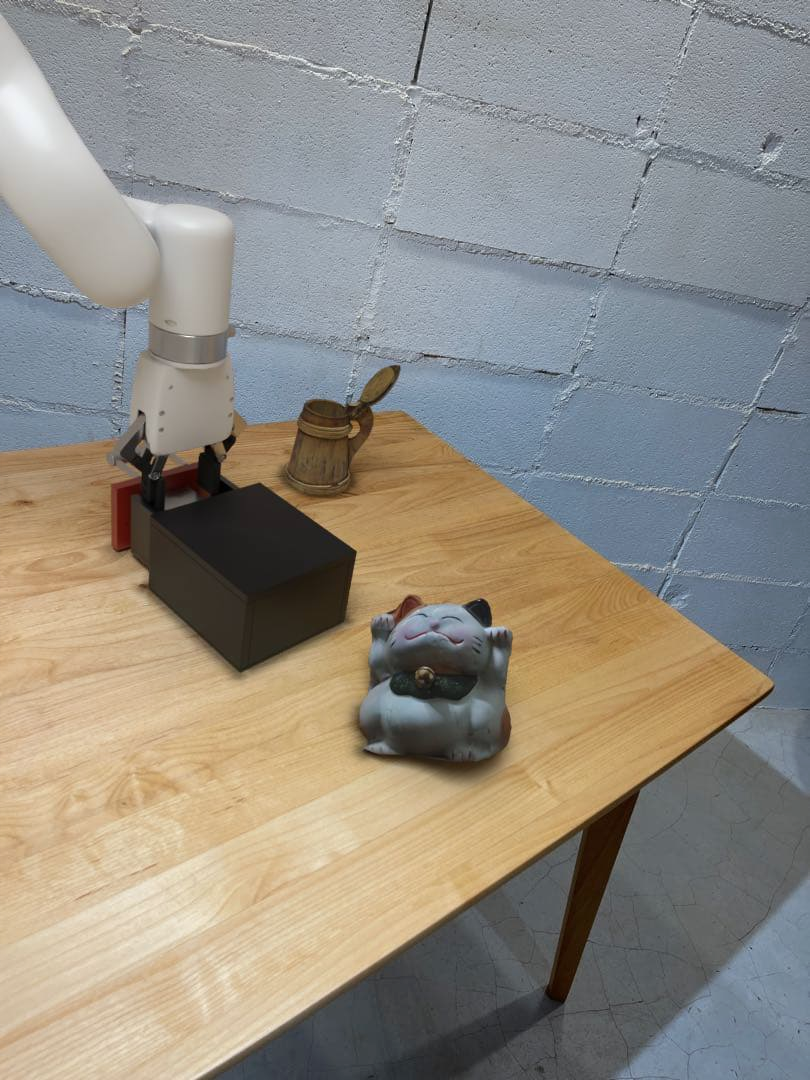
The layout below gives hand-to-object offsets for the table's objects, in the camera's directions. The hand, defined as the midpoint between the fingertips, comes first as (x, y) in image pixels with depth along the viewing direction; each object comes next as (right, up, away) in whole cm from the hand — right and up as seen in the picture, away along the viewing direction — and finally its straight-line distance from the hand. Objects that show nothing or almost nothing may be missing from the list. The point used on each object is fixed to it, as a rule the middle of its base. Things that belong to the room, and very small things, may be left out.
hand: (181, 496), depth 89 cm
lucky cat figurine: (+26, -23, -12) cm, 36 cm away
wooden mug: (+14, +3, +24) cm, 28 cm away
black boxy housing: (+8, -12, -2) cm, 15 cm away
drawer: (-1, -6, +3) cm, 7 cm away
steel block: (-1, -5, +3) cm, 5 cm away
